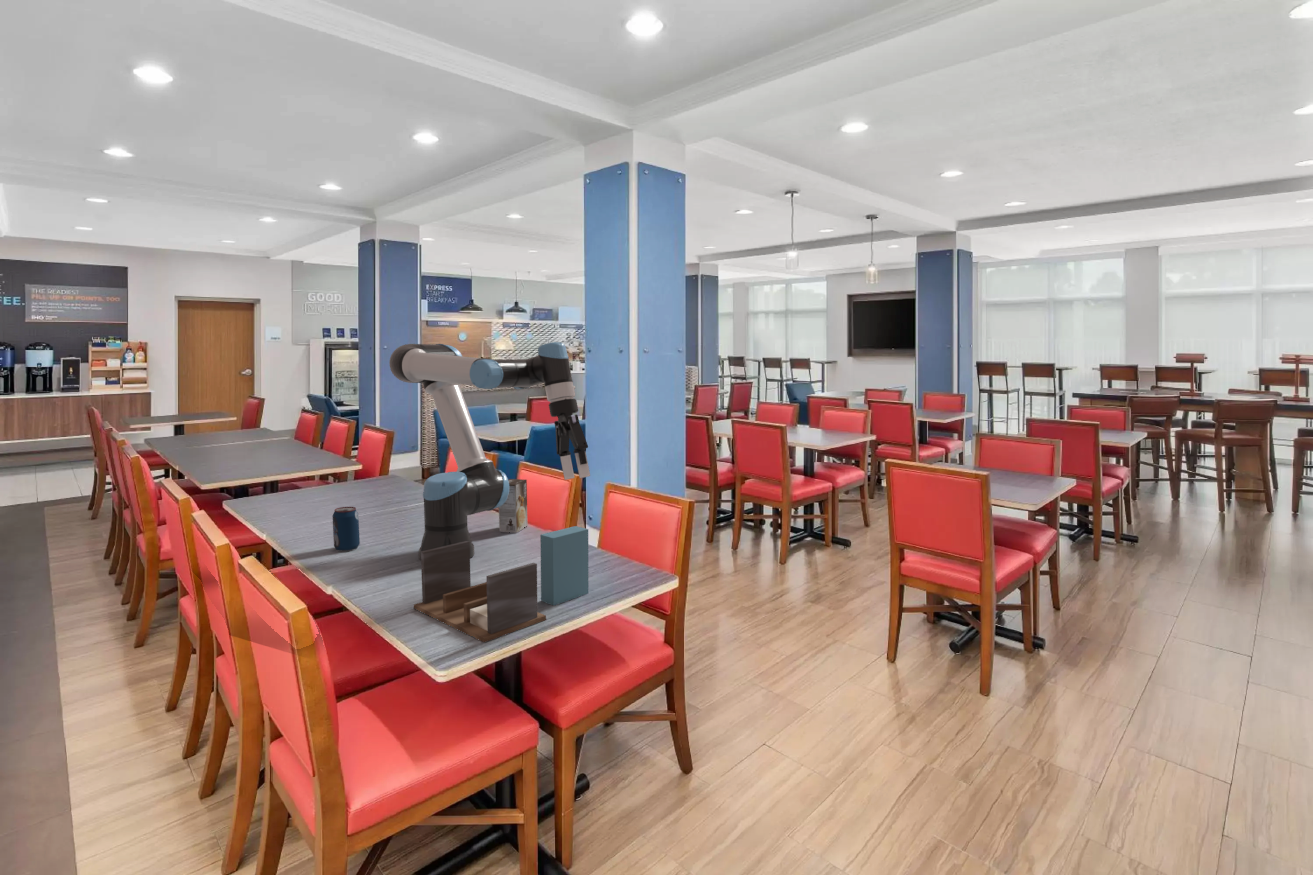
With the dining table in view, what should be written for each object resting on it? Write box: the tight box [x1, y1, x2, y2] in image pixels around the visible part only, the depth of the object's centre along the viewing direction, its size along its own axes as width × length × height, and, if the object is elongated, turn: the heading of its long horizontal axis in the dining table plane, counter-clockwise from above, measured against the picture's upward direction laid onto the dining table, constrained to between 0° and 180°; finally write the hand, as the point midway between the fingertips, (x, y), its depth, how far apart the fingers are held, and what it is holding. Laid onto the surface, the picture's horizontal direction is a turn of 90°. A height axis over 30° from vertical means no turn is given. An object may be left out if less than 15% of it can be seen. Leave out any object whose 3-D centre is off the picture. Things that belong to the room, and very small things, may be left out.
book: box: [539, 525, 589, 607], centre depth 162 cm, size 4×11×16 cm, turn 139°
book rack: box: [413, 541, 547, 643], centre depth 151 cm, size 27×16×13 cm, turn 49°
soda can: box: [332, 506, 361, 552], centre depth 200 cm, size 7×7×12 cm
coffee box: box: [498, 478, 529, 534], centre depth 224 cm, size 9×6×16 cm
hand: (577, 478), depth 183 cm, fingers open, 13 cm apart
